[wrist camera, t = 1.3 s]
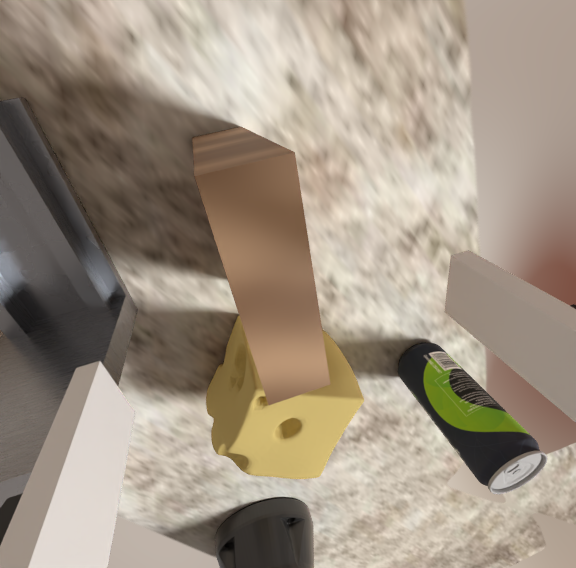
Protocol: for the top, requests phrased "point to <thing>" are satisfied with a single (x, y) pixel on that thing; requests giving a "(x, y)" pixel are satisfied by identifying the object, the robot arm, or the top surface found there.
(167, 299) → the top surface
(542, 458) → the beverage can
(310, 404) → the cheese
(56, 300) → the bottom track
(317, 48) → the top surface
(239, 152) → the door panel
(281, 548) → the robot arm
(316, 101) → the top surface
